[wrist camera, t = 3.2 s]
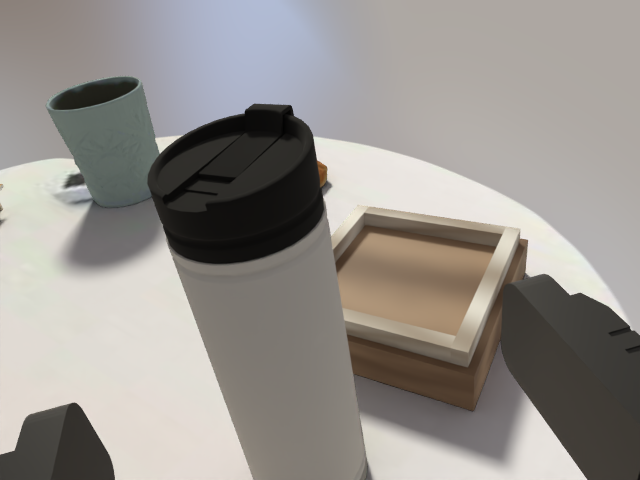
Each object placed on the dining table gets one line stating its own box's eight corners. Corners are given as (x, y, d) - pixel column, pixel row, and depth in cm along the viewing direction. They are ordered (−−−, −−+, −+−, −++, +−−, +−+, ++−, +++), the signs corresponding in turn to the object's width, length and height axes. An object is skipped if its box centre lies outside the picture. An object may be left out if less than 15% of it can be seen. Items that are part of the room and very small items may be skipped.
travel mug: (386, 437, 31) (345, 104, 20) (338, 546, 27) (250, 189, 16) (293, 406, 34) (213, 99, 23) (234, 499, 29) (99, 170, 18)
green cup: (135, 165, 70) (100, 73, 63) (191, 175, 65) (161, 76, 58) (70, 204, 63) (24, 106, 57) (128, 218, 58) (85, 112, 52)
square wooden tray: (473, 411, 32) (474, 361, 29) (276, 349, 38) (264, 305, 36) (525, 271, 41) (529, 226, 39) (360, 241, 48) (355, 201, 46)
